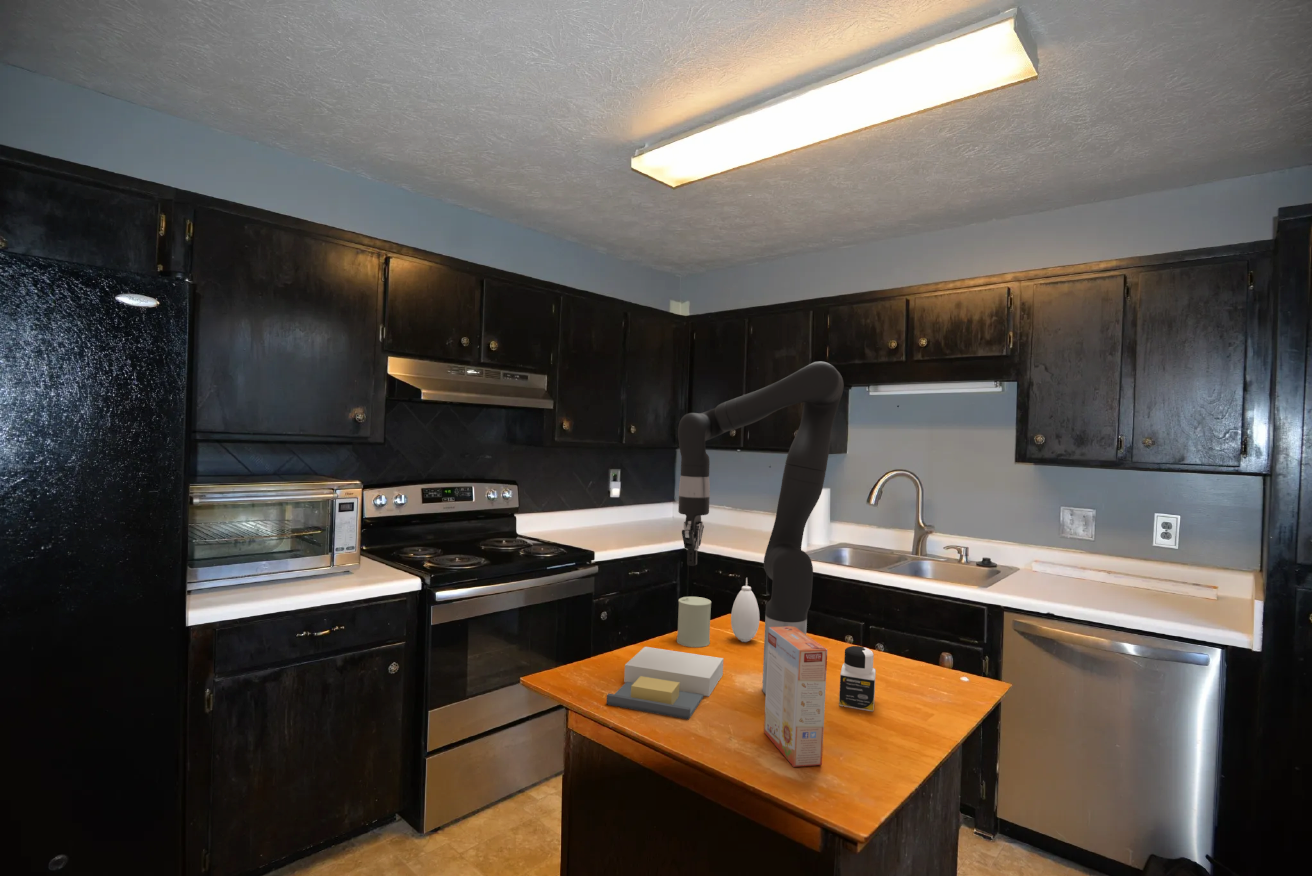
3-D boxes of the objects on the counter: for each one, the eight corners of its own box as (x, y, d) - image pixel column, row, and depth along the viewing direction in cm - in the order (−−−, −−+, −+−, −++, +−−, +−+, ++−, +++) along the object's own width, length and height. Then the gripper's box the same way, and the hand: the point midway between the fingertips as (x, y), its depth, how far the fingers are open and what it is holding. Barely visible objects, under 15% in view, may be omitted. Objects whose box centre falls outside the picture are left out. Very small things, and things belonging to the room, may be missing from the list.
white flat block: (722, 674, 157) (723, 658, 157) (708, 696, 143) (709, 678, 143) (644, 662, 163) (645, 646, 163) (624, 682, 150) (624, 664, 150)
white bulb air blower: (751, 647, 178) (754, 581, 178) (725, 641, 182) (728, 577, 182) (762, 640, 185) (765, 577, 184) (737, 635, 189) (739, 573, 188)
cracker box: (824, 766, 115) (829, 648, 114) (792, 769, 113) (797, 649, 113) (791, 730, 128) (796, 624, 128) (762, 732, 127) (767, 625, 127)
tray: (703, 697, 143) (703, 688, 143) (688, 719, 131) (689, 709, 131) (626, 684, 148) (627, 675, 148) (606, 704, 137) (606, 695, 137)
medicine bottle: (838, 706, 141) (841, 651, 141) (841, 694, 148) (843, 641, 148) (873, 712, 138) (875, 656, 138) (874, 699, 145) (876, 646, 145)
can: (678, 635, 186) (680, 593, 186) (710, 638, 185) (712, 596, 184) (674, 645, 177) (676, 601, 177) (708, 648, 175) (710, 604, 175)
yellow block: (671, 692, 136) (671, 707, 136) (679, 682, 141) (679, 696, 141) (631, 685, 138) (630, 699, 138) (640, 676, 144) (640, 689, 144)
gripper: (702, 497, 152) (700, 571, 152) (714, 493, 164) (712, 561, 165) (672, 496, 154) (669, 568, 154) (686, 491, 167) (684, 559, 167)
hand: (692, 565), depth 159 cm, fingers closed
